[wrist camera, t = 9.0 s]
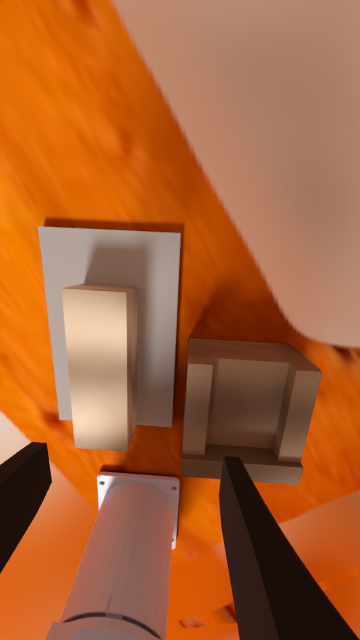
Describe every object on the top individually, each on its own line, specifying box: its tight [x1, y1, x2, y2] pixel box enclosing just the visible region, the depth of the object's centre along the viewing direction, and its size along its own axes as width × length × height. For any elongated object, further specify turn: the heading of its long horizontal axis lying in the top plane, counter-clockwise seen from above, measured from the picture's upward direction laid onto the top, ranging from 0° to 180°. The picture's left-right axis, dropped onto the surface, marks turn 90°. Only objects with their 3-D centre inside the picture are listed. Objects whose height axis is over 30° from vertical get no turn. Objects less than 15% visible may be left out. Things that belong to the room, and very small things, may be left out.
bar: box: [61, 283, 137, 452], centre depth 17 cm, size 12×4×3 cm, turn 177°
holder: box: [181, 338, 322, 485], centre depth 17 cm, size 8×8×5 cm
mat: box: [38, 226, 181, 427], centre depth 18 cm, size 16×10×1 cm, turn 177°
